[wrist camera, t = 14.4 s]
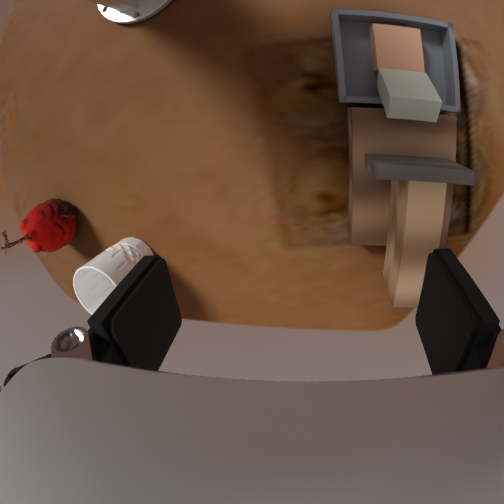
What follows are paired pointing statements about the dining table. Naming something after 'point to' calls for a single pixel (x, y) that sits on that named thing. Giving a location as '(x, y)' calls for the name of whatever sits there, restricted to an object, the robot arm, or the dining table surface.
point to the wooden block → (391, 143)
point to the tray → (360, 59)
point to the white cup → (107, 271)
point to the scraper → (413, 217)
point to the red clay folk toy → (47, 226)
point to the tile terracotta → (396, 48)
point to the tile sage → (408, 95)
